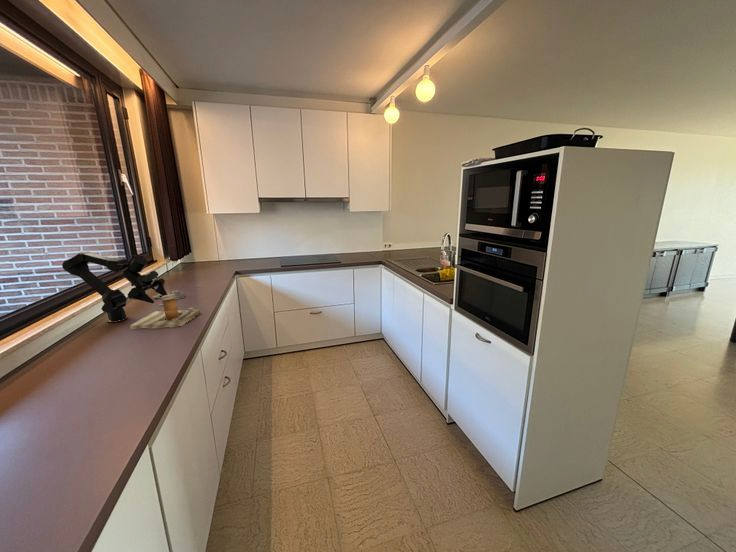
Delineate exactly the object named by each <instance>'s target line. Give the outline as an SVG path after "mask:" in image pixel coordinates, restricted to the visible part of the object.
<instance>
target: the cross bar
mask: <svg viewBox="0 0 736 552" xmlns="http://www.w3.org/2000/svg"><path fill="white" fill-rule="evenodd" d="M186 310H187V311H186V312H184V313H183V314H181V315H180V316H178V317H177V318H173V319H172V323H177V322H178V321H179V320H182V319H183V318H185V317H186V315H187V314H189V313H190V312H192V311H194V310H195V309H194V307H188V308H187V309H186Z"/></svg>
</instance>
